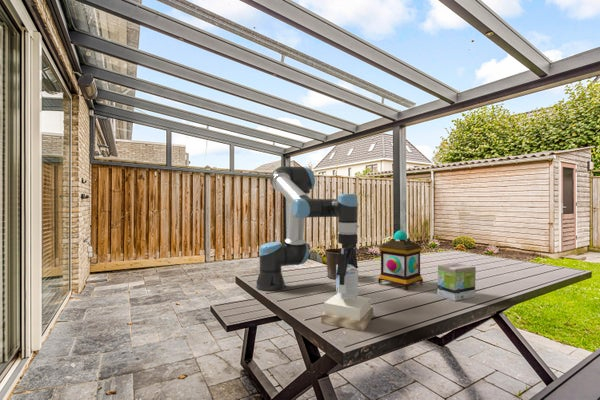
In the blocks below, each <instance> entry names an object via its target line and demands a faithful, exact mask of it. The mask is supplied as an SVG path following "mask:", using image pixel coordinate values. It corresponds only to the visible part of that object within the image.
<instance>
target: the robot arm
mask: <svg viewBox="0 0 600 400" xmlns="http://www.w3.org/2000/svg"><path fill="white" fill-rule="evenodd" d="M269 180H270V185H271V186H272V188H273V189H274V190H275V191H278V192H280V193H281V194H282V196H283V197H284V198H285V199H286V200H287V201H288V202H289V213H288V227H287V228H288V229H287V237H286V238H285V239H284V242H283V244H282V242H280V241H270V242H266V243H263V244H261V245H260V247H259V253H258V255H259V273H258V277H257V280H256V283H255V286H256V287H255V288H256V289H257V290H260V291H268V292H269V291H273V292H274V291H279V290H282V289H284V288H285V284H286V283H285V280H284V276H283V272H282V267H287V266H289V267H290V266H299V265H304V264H305V263H307V261H308V259H309V256H310V250H309V246H308V243H306V240H305V239H304V234H305V233H304V232H305V221H306V220H305V219H306V218H337V220H338V221H337V232H338V234H337V235H338V236H337V241H338V244H341V245H342V247H339V248H338V249H339V260H338V268H337V273H336V275H338V276H339V293H343V294H346V287H347V276H345V275H346V270H347V265H348V262H349V264H351V265H353V266H354V267H355V268H356V269H358V268H359V265H358V259H357V250H356V246H357V245H356V244H358V241H359V239H358V238H359V237H358V234H357V233H358V228H359V227H360V225H359V224H358V220H359V219H358V216H359V215H358V213H359V211H358V210H359V203H358V195H357V194H356V193H340V194H338V196H337V198H311V197H309V196H308V195H309V194H310V192H311V190H312V189H314V188H315V184H316V178H315V174H314V171H313V170H312V168H310V167H305V166H287V165H282V166H279V167H277V168H276V169H274V170H273V171H272V173H271V175H270V179H269Z"/></svg>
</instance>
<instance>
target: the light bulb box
mask: <svg viewBox="0 0 600 400" xmlns="http://www.w3.org/2000/svg"><path fill="white" fill-rule="evenodd" d="M337 268H338V265H336V273H337ZM345 276H347V287H346V294H343V293H339V276H338V275H336V280H335V282H336V284H335V285H336V286H335V287H336V288H335V291H336V292H337V293H338V294H339V296H340V298H341V299H358V296H359V270H358V268H355V267H354V266H353V265H351V264H349V265H347V270H346V275H345ZM337 293H336V294H337Z"/></svg>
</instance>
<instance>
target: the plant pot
mask: <svg viewBox="0 0 600 400" xmlns="http://www.w3.org/2000/svg"><path fill="white" fill-rule="evenodd" d="M339 249H340V248H326V249H324V252H325V258H326V259H325V261H326V272H327V277H328V279H332V280H335V281H336V265H338V260H339ZM348 265H349V262H348Z"/></svg>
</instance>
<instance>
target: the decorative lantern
mask: <svg viewBox="0 0 600 400" xmlns="http://www.w3.org/2000/svg"><path fill="white" fill-rule="evenodd" d="M378 249H379V250H380V274H379V276H378V278H377V279H378V280H377V281H378V282H377V283H378V285H382V282H383V281H385V282H389V283H392V284H393V283H394V284H397V285H402V286H404V290H405V291H406V292H407V291H408V290H409V286H411V285H413V284H415V283H418V282H419V285H420V286H423V284H424V279H423V276H422V274H421V252H422V250H423V247H422V246H421V245H420V244H418V243H415V242H413V241H412V240H411V239H410V238H408V235H407V233H405V231H403V230H398V231H396V232H395V233H394V234H393V238H391V240H388V242H385V243H382V244H381V245H380V246H379V247H378Z"/></svg>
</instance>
